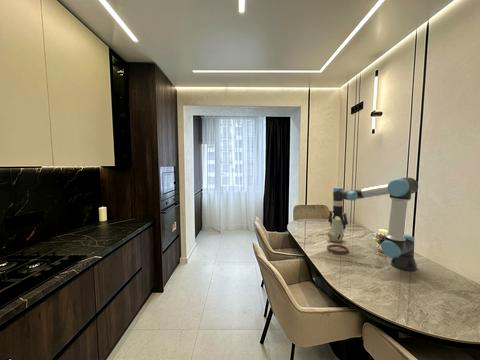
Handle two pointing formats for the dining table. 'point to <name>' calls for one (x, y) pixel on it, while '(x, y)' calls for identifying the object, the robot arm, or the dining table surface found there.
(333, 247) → the trivet
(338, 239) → the sugar bowl
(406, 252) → the robot arm
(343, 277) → the dining table surface
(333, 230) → the grey-green tapered block
